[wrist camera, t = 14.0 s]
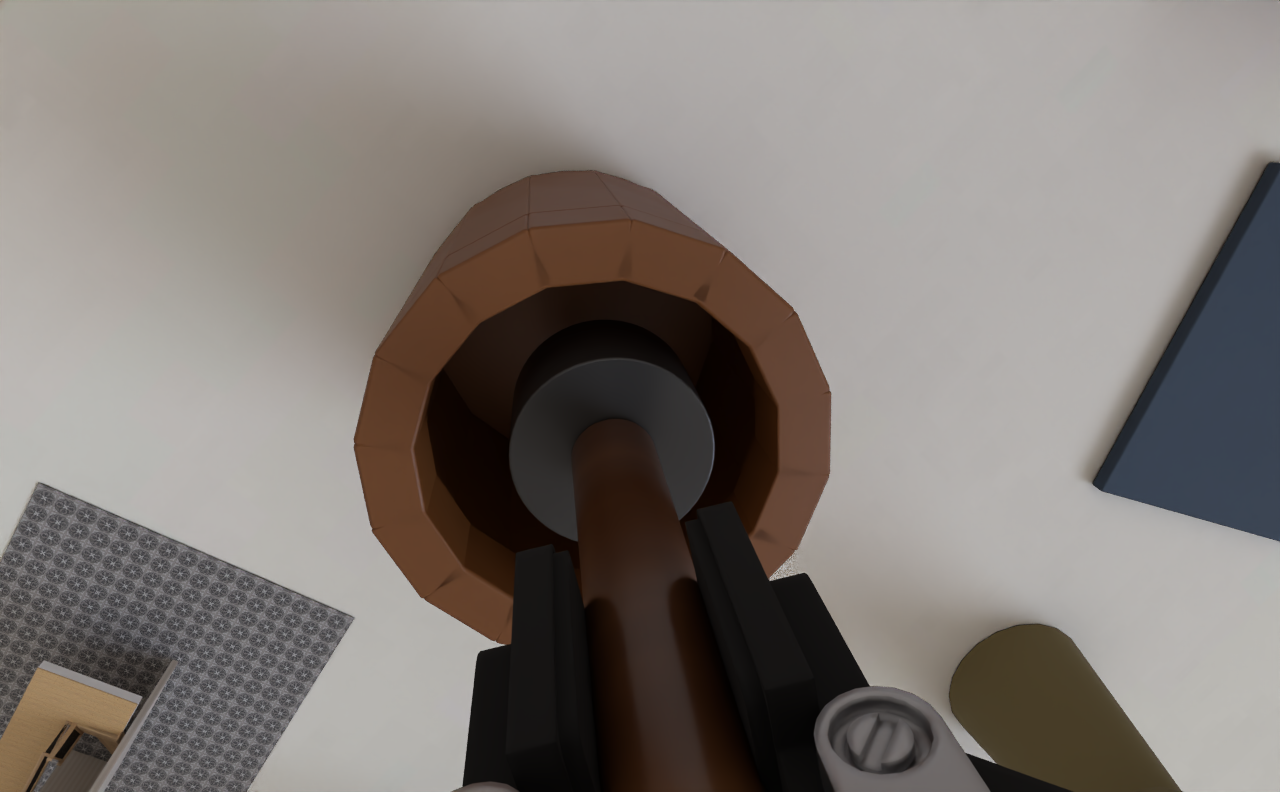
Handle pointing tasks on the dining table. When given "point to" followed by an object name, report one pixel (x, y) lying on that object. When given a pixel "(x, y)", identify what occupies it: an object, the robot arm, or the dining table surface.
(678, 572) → the brush
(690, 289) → the jar
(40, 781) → the architectural model
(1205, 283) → the mat
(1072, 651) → the olive game pawn
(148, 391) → the dining table surface
